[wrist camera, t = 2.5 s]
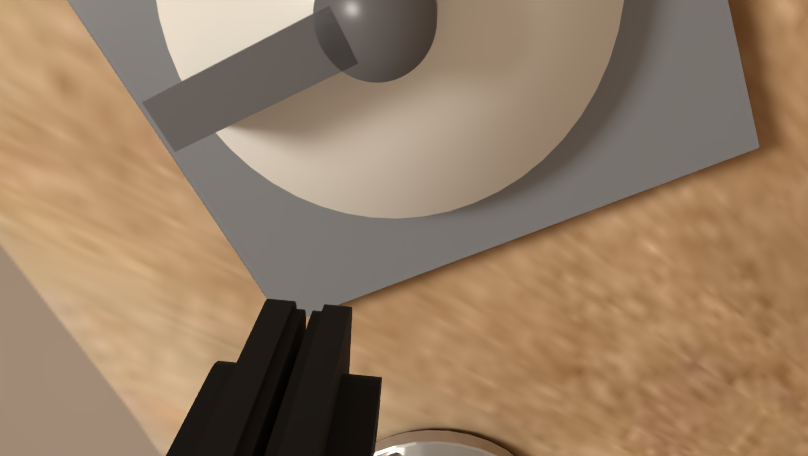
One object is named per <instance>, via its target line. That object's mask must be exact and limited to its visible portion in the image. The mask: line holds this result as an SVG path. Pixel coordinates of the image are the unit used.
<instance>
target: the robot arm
mask: <svg viewBox="0 0 808 456" xmlns="http://www.w3.org/2000/svg"><path fill="white" fill-rule="evenodd" d="M351 325H352V307H348V306H338V305H328V304H324V306H323V309H322V311H315V310H313V311H312V313H311V316H310V319H309V322H308V325H307V328H306V311H305V309H297V305H296V302H295V301H288V300H278V299H267V300H266V301H265V303H264V305H263V307H262V310H261V312H260V314H259V316H258V318H257V320H256V322H255V325H254V327H253V329H252V331H251V333H250V335H249V337H248V340H247V342H246V344H245V346H244V348H243V350H242V352H241V354H240V357H239V359H238V361H237V363H235V362H225V361H217V362H216V363H215V364H214V365H213V367H212V368H211V370H210V372H209V374H208V376H207V378H206V380H205V382H204V384H203V385H202V387H201V389H200V391H199V393H198V395H197V397H196V399H195V401H194V403H193V405H192V407H191V409H190V411H189V412H188V414H187V416H186V418H185V420H184V422H183V424H182V426H181V428H180V430H179V432H178V434H177V436H176V437H175V439H174V441H173V443H172V445H171V447H170V449H169V451H168V453H167V455H166V456H514V455H512V454H511V453H510V452H509V451H507V450H506V449H504V448H502V447H500V446H498V445H496V444H494V443H492V442H490V441H488V440H485V439H482V438H479V437H476V436H473V435H469V434H464V433H458V432H452V431H440V430H424V431H414V432H406V433H402V434H398V435H394V436H391V437H387V438H385V439H382V440H380V441H378V442H376V437H377V428H378V418H379V407H380V395H381V383H382V377H373V376H363V375H353V374H349V366H350V345H351Z"/></svg>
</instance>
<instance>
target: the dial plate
mask: <svg viewBox="0 0 808 456" xmlns="http://www.w3.org/2000/svg"><path fill="white" fill-rule="evenodd" d="M67 1H68V2H69V4H70V5H71V7H72V8H73V10H74V11H75V13H76V14H77V16H78V17H79V19H80V20H81V22H82V23H83V25H84V26H85V28H86V29H87V31H88V32H89V34H90V35H91V37H92V38H93V40H94V41H95V43H96V44H97V46H98V47H99V48H100V50H101V51H102V53H103V54H104V56H105V57H106V59H107V60H108V62H109V63H110V65H111V66H112V68H113V69H114V71H115V72H116V74H117V75H118V77H119V78H120V80H121V81H122V83H123V84H124V86H125V87H126V89H127V90H128V92H129V93H130V95H131V96H132V98H133V99H134V101H135V102H136V104H137V105H138V107H139V108H140V110H141V111H142V113H143V114H144V116H145V117H146V119H147V120H148V122H149V123H150V125H151V126H152V128H153V129H154V131H155V132H156V134H157V135H158V137H159V138H160V140H161V141H162V143H163V144H164V146H165V147H166V148H167V150H168V151H169V153H170V154H171V156H172V157H173V159H174V160H175V162H176V163H177V165H178V166H179V168H180V169H181V171H182V172H183V174H184V175H185V177H186V178H187V180H188V181H189V183H190V184H191V186H192V187H193V189H194V190H195V192H196V193H197V195H198V196H199V198H200V199H201V201H202V202H203V204H204V205H205V207H206V208H207V210H208V211H209V213H210V214H211V216H212V217H213V219H214V220H215V222H216V223H217V225H218V226H219V228H220V229H221V231H222V232H223V234H224V235H225V237H226V238H227V240H228V241H229V243H230V244H231V246H232V247H233V249H234V250H235V251H236V253H237V254H238V256H239V257H240V259H241V260H242V262H243V263H244V265H245V266H246V268H247V269H248V271H249V272H250V274H251V275H252V277H253V278H254V280H255V281H256V283H257V284H258V286H259V287H260V289H261V290H262V292H263V293H264V295H265V296H266V298H267V299H278V300H288V301H295V302H296V305H297V309H305V311H306V317H307V316H310V315H311V313H312V311H313V310H315V311H322V309H323V306H324V304H328V305H339V304H342V303H345V302H347V301H350V300H353V299H355V298H358V297H361V296H363V295H366V294H369V293H371V292H374V291H377V290H379V289H382V288H385V287H387V286H390V285H393V284H395V283H398V282H401V281H403V280H406V279H409V278H412V277H414V276H417V275H420V274H422V273H425V272H428V271H430V270H433V269H436V268H438V267H441V266H444V265H446V264H449V263H452V262H454V261H457V260H460V259H462V258H465V257H468V256H471V255H473V254H476V253H479V252H481V251H484V250H487V249H489V248H492V247H495V246H497V245H500V244H503V243H505V242H508V241H511V240H513V239H516V238H519V237H521V236H524V235H527V234H529V233H532V232H535V231H538V230H540V229H543V228H546V227H548V226H551V225H554V224H556V223H559V222H562V221H564V220H567V219H570V218H572V217H575V216H578V215H580V214H583V213H586V212H588V211H591V210H594V209H597V208H599V207H602V206H605V205H607V204H610V203H613V202H615V201H618V200H621V199H623V198H626V197H629V196H631V195H634V194H637V193H639V192H642V191H645V190H647V189H650V188H653V187H655V186H658V185H661V184H664V183H666V182H669V181H672V180H674V179H677V178H680V177H682V176H685V175H688V174H690V173H693V172H696V171H698V170H701V169H704V168H706V167H709V166H712V165H714V164H717V163H720V162H723V161H725V160H728V159H731V158H733V157H736V156H739V155H741V154H744V153H747V152H749V151H752V150H755V149H757V148H760V147H759V142H758V137H757V133H756V128H755V123H754V119H753V114H752V110H751V105H750V100H749V96H748V91H747V86H746V82H745V77H744V72H743V68H742V63H741V58H740V54H739V49H738V45H737V40H736V35H735V31H734V26H733V21H732V17H731V12H730V7H729V3H728V0H624V3H623V9H622V15H621V20H620V26H619V31H618V34H617V37H616V41H615V44H614V47H613V50H612V54H611V57H610V60H609V63H608V65H607V67H606V70H605V72H604V74H603V76H602V79H601V81H600V83H599V85H598V88H597V90H596V92H595V93H594V95H593V97H592V98H591V100H590V102H589V103H588V105H587V107H586V108H585V110H584V112H583V113H582V115H581V117H580V118H579V119H578V121H577V122H576V123H575V124H574V126H573V127H572V128H571V130H570V131H569V132H568V134H567V135H566V136H565V137H564V139H563V140H562V141H561V142H560V143H559V144H558V145H557V146H556V147H555V148H554V149H553V150H552V151H551V152H550V153H549V154H548V155H547V156H546V157H545V158H544V159H543V160H542V161H541V162H540V163H539V164H537V165H536V166H535V167H534V168H532V169H531V170H530V171H529V172H527V173H526V174H525V175H524V176H522V177H521V178H520V179H518V180H516V181H515V182H513V183H512V184H510V185H508V186H507V187H505V188H503V189H502V190H500V191H499V192H497V193H495V194H492V195H490V196H488V197H486V198H484V199H482V200H480V201H477V202H475V203H473V204H470V205H467V206H464V207H461V208H458V209H455V210H452V211H449V212H444V213H439V214H434V215H429V216H424V217H412V218H399V219H395V218H371V217H365V216H359V215H352V214H346V213H343V212H339V211H335V210H332V209H328V208H325V207H321V206H319V205H316V204H314V203H312V202H309V201H307V200H304V199H302V198H299V197H297V196H295V195H293V194H291V193H290V192H288V191H286V190H284V189H282V188H281V187H279V186H277V185H275V184H273V183H272V182H271V181H269V180H268V179H266V178H265V177H263V176H262V175H261V174H259V173H258V172H256V171H255V170H254V169H252V168H251V167H250V166H249V165H248V164H246V163H245V162H244V161H243V160H242V159H241V158H240V157H239V156H238V155H236V154H235V153H234V152H233V151H232V150H231V149H230V148H229V147H228V146H227V145H226V144H225V143H224V141H223V140H222V139H221V138H220V137H219V136H218V135H217V134H216V133H214V134H212V135H209V136H207V137H205V138H203V139H201V140H199V141H197V142H195V143H193V144H191V145H189V146H187V147H185V148H183V149H180V150H178V151H176V152H174V150H173V149H172V147H171V146H170V144H169V143H168V141H167V140H166V138H165V137H164V135H163V134H162V132H161V131H160V129H159V128H158V126H157V125H156V123H155V122H154V120H153V119H152V117H151V116H150V114H149V113H148V111H147V109H146V108H145V106H144V105H143V103H142V102H144V101H146V100H147V99H149V98H151V97H153V96H155V95H157V94H159V93H160V92H162V91H164V90H166V89H168V88H170V87H172V86H173V85H175V84H177V83H179V82H181V79H180V77H179V74H178V72H177V69H176V67H175V65H174V62H173V60H172V57H171V55H170V53H169V50H168V47H167V44H166V40H165V37H164V33H163V30H162V26H161V23H160V19H159V14H158V8H157V2H156V0H67Z"/></svg>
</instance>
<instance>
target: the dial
mask: <svg viewBox="0 0 808 456" xmlns="http://www.w3.org/2000/svg"><path fill="white" fill-rule="evenodd" d="M156 2H157V8H158V14H159V19H160V23H161V26H162V30H163V33H164V37H165V40H166V44H167V47H168V50H169V53H170V55H171V57H172V60H173V62H174V65H175V67H176V69H177V72H178V74H179V77H180V79H181V82H179V83H177V84H175V85H173V86H172V87H170V88H168V89H166V90H164V91H162V92H160V93H159V94H157V95H155V96H153V97H151V98H149V99H147V100H146V101H144V102H142V103H143V105H144V106H145V108H146V109H147V111H148V113H149V114H150V116H151V117H152V119H153V120H154V122H155V123H156V125H157V126H158V128H159V129H160V131H161V132H162V134H163V135H164V137H165V138H166V140H167V141H168V143H169V144H170V146H171V147H172V149H173V150H174V152H176V151H178V150H180V149H183V148H185V147H187V146H189V145H191V144H193V143H195V142H197V141H199V140H201V139H203V138H205V137H207V136H209V135H212V134H214V133H216V134H217V135H218V136H219V137H220V138H221V139H222V140H223V141H224V143H225V144H226V145H227V146H228V147H229V148H230V149H231V150H232V151H233V152H234V153H235V154H236V155H238V156H239V157H240V158H241V159H242V160H243V161H244V162H245V163H246V164H248V165H249V166H250V167H251V168H252V169H254V170H255V171H256V172H258V173H259V174H261V175H262V176H263V177H265V178H266V179H268V180H269V181H271V182H272V183H273V184H275V185H277V186H279V187H281V188H282V189H284V190H286V191H288V192H290V193H291V194H293V195H295V196H297V197H299V198H302V199H304V200H307V201H309V202H312V203H314V204H316V205H319V206H321V207H325V208H328V209H332V210H335V211H339V212H343V213H346V214H352V215H359V216H365V217H371V218H395V219H399V218H412V217H424V216H429V215H434V214H439V213H444V212H449V211H452V210H455V209H458V208H461V207H464V206H467V205H470V204H473V203H475V202H477V201H480V200H482V199H484V198H486V197H488V196H490V195H492V194H495V193H497V192H499V191H500V190H502V189H503V188H505V187H507V186H508V185H510V184H512V183H513V182H515V181H516V180H518V179H520V178H521V177H522V176H524V175H525V174H526V173H527V172H529V171H530V170H531V169H532V168H534V167H535V166H536V165H537V164H539V163H540V162H541V161H542V160H543V159H544V158H545V157H546V156H547V155H548V154H549V153H550V152H551V151H552V150H553V149H554V148H555V147H556V146H557V145H558V144H559V143H560V142H561V141H562V140H563V139H564V137H565V136H566V135H567V134H568V132H569V131H570V130H571V128H572V127H573V126H574V124H575V123H576V122H577V121H578V119H579V118H580V117H581V115H582V113H583V112H584V110H585V108H586V107H587V105H588V103H589V102H590V100H591V98H592V97H593V95H594V93H595V92H596V90H597V88H598V85H599V83H600V81H601V79H602V76H603V74H604V72H605V70H606V67H607V65H608V63H609V60H610V57H611V54H612V50H613V47H614V44H615V41H616V37H617V34H618V31H619V26H620V20H621V15H622V9H623V3H624V0H156Z"/></svg>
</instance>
